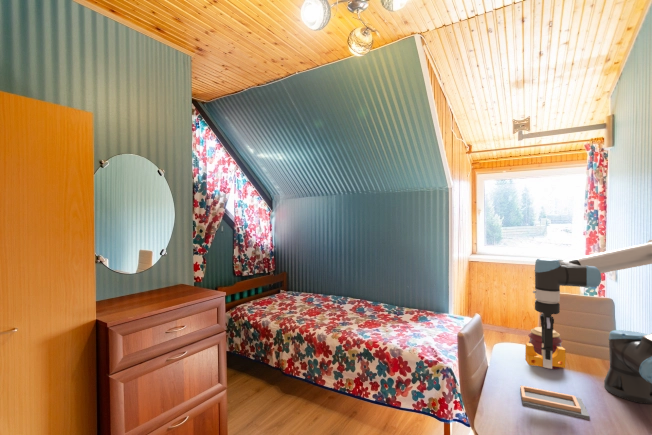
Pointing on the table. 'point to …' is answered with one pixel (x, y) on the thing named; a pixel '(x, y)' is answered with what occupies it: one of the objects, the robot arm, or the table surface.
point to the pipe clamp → (537, 359)
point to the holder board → (553, 402)
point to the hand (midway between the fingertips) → (546, 364)
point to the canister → (537, 341)
